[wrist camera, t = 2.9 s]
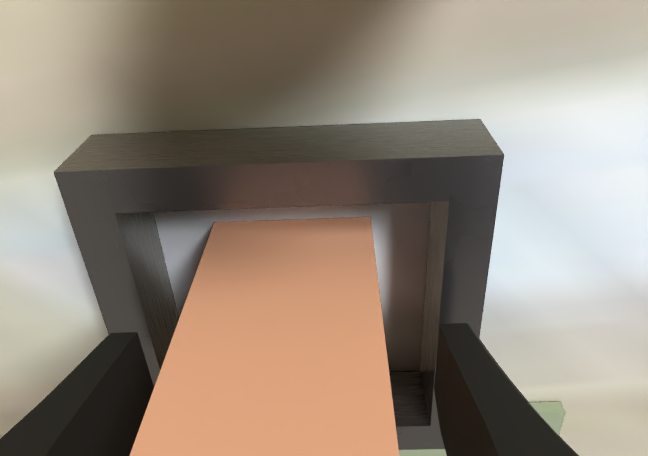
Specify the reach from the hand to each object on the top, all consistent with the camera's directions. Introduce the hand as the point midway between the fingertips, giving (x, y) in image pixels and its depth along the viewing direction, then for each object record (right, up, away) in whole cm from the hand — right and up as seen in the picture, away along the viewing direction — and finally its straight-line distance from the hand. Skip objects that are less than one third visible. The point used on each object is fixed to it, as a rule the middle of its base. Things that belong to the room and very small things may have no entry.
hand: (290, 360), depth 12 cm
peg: (0, +2, +3) cm, 3 cm away
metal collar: (0, +1, +2) cm, 3 cm away
